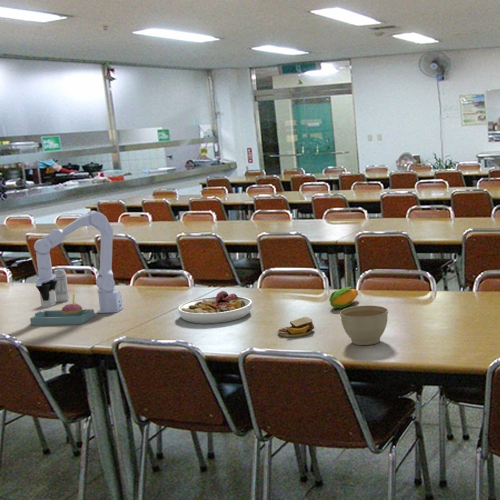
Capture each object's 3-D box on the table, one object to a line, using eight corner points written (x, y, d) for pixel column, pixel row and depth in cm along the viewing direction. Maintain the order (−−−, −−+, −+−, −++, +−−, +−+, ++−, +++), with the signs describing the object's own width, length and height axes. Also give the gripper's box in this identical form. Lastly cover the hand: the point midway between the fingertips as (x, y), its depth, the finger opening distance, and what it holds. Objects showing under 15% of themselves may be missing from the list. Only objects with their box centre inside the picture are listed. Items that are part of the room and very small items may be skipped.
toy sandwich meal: (274, 331, 289) (273, 319, 288) (310, 327, 291) (309, 314, 290) (281, 340, 276) (280, 327, 276) (318, 335, 278) (317, 322, 278)
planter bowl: (384, 333, 274) (382, 303, 272) (394, 346, 258) (392, 314, 256) (338, 337, 273) (336, 307, 272) (345, 350, 257) (343, 318, 256)
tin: (55, 303, 333) (53, 289, 332) (51, 306, 328) (49, 291, 327) (46, 304, 334) (44, 289, 333) (41, 306, 329) (39, 291, 328)
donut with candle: (86, 317, 333) (83, 290, 331) (77, 322, 324) (74, 294, 323) (68, 317, 335) (65, 290, 333) (58, 323, 327) (55, 295, 325)
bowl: (244, 325, 301) (242, 305, 300) (170, 327, 307) (168, 307, 306) (258, 306, 330) (257, 288, 329) (190, 308, 336) (189, 290, 335)
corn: (324, 291, 312) (348, 281, 328) (324, 310, 313) (348, 298, 329) (340, 294, 308) (364, 283, 324) (340, 312, 309) (363, 301, 325)
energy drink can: (70, 299, 373) (67, 268, 370) (66, 302, 367) (63, 271, 364) (58, 299, 373) (55, 269, 371) (54, 302, 367) (50, 271, 365)
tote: (94, 315, 334) (93, 307, 334) (82, 323, 322) (81, 315, 321) (45, 317, 339) (44, 308, 339) (30, 325, 327) (29, 316, 326)
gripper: (43, 264, 336) (47, 295, 338) (27, 271, 322) (31, 303, 324) (59, 264, 335) (62, 295, 337) (43, 270, 321) (47, 303, 323)
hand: (48, 299), depth 331 cm, fingers closed on tin, 4 cm apart
